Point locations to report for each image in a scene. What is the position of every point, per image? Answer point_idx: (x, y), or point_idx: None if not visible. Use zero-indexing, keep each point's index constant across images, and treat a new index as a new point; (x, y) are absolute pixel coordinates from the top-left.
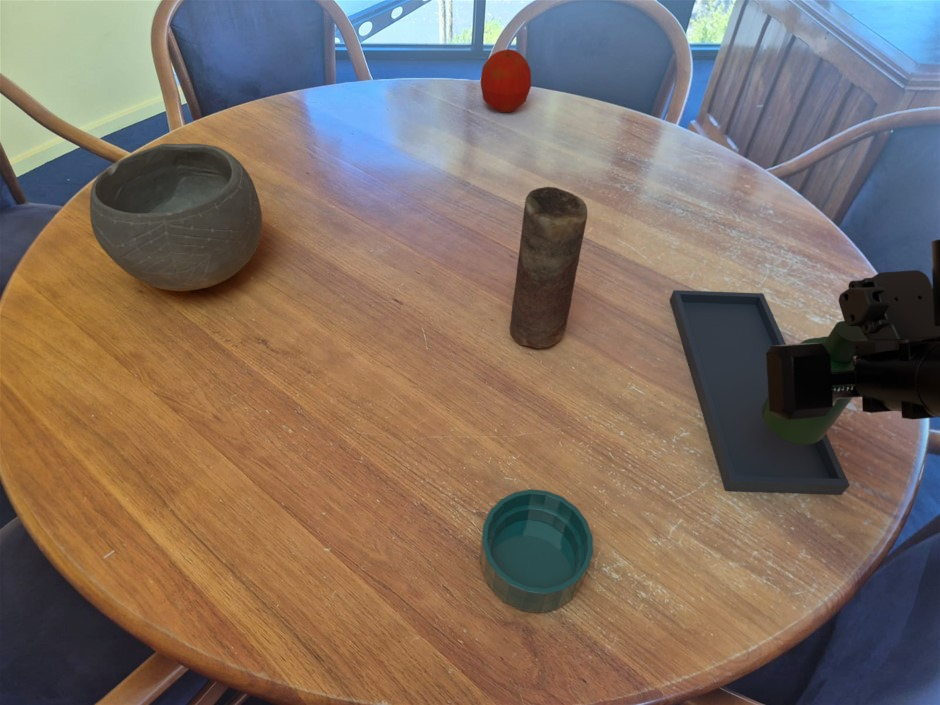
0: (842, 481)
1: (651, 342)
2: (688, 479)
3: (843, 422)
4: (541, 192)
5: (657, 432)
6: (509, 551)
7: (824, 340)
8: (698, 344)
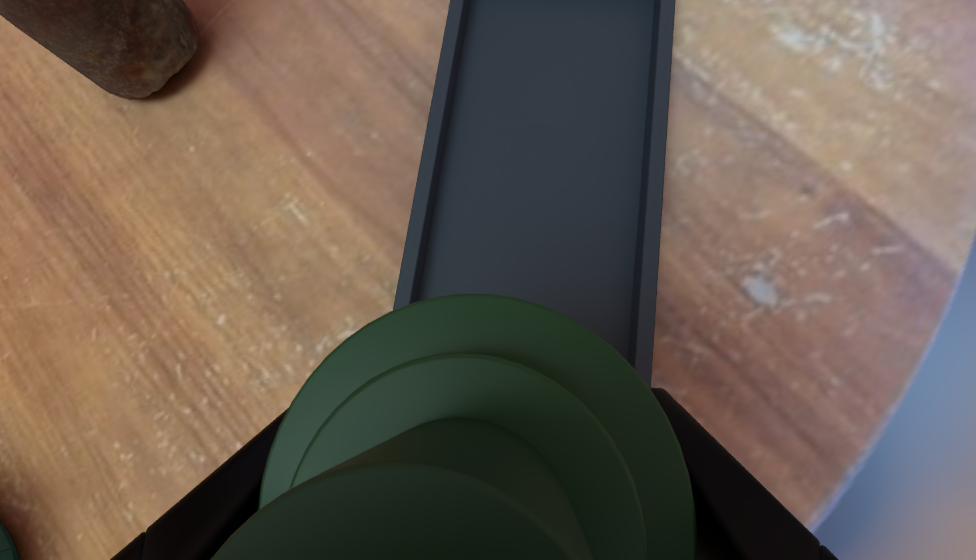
0: None
1: (378, 90)
2: None
3: (726, 336)
4: None
5: (294, 324)
6: None
7: (428, 395)
8: (471, 102)
